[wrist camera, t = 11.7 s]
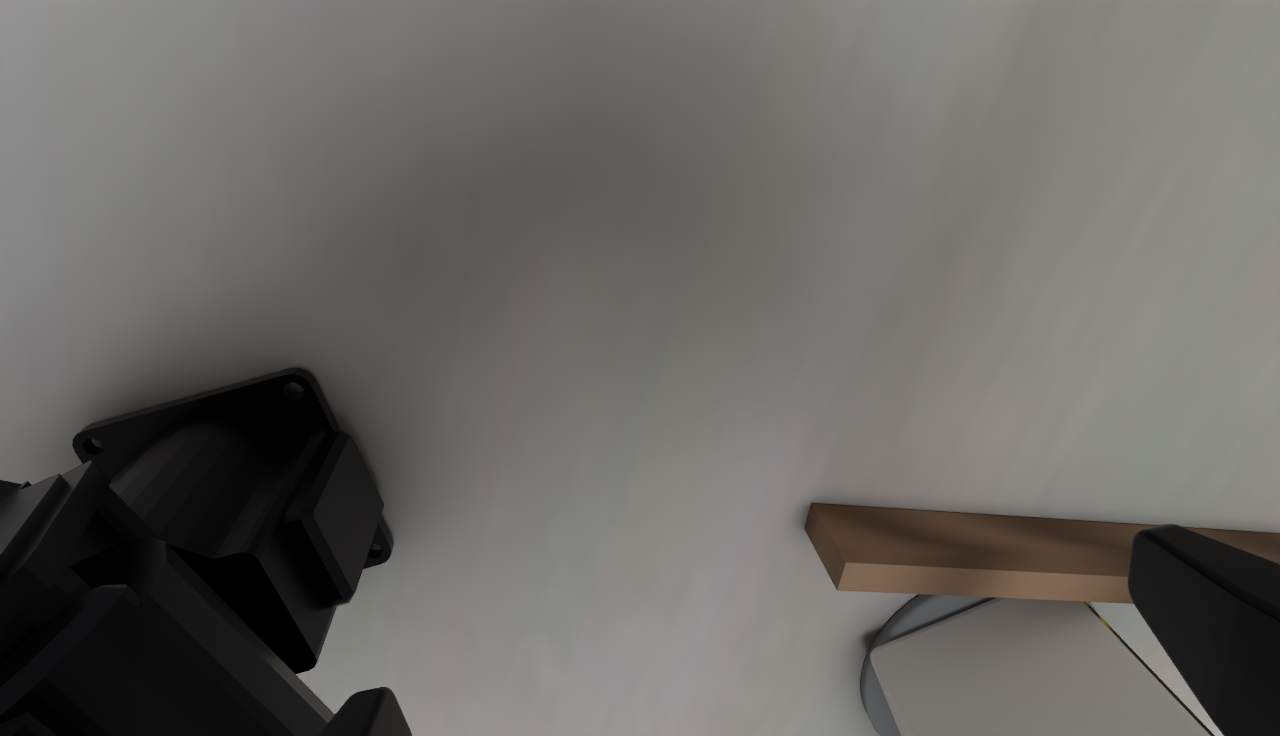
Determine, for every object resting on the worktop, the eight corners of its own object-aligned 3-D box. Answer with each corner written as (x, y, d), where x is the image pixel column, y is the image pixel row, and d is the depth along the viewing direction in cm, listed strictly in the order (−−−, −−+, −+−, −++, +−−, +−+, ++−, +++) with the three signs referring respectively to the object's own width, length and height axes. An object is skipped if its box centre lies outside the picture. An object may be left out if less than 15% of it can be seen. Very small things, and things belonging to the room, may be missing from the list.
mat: (874, 774, 30) (880, 788, 30) (846, 605, 26) (852, 618, 26) (1092, 712, 30) (1102, 725, 30) (1094, 535, 26) (1105, 546, 26)
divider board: (804, 529, 25) (837, 590, 22) (812, 503, 24) (845, 562, 22) (1313, 559, 28) (1395, 615, 25) (1326, 536, 28) (1412, 591, 25)
